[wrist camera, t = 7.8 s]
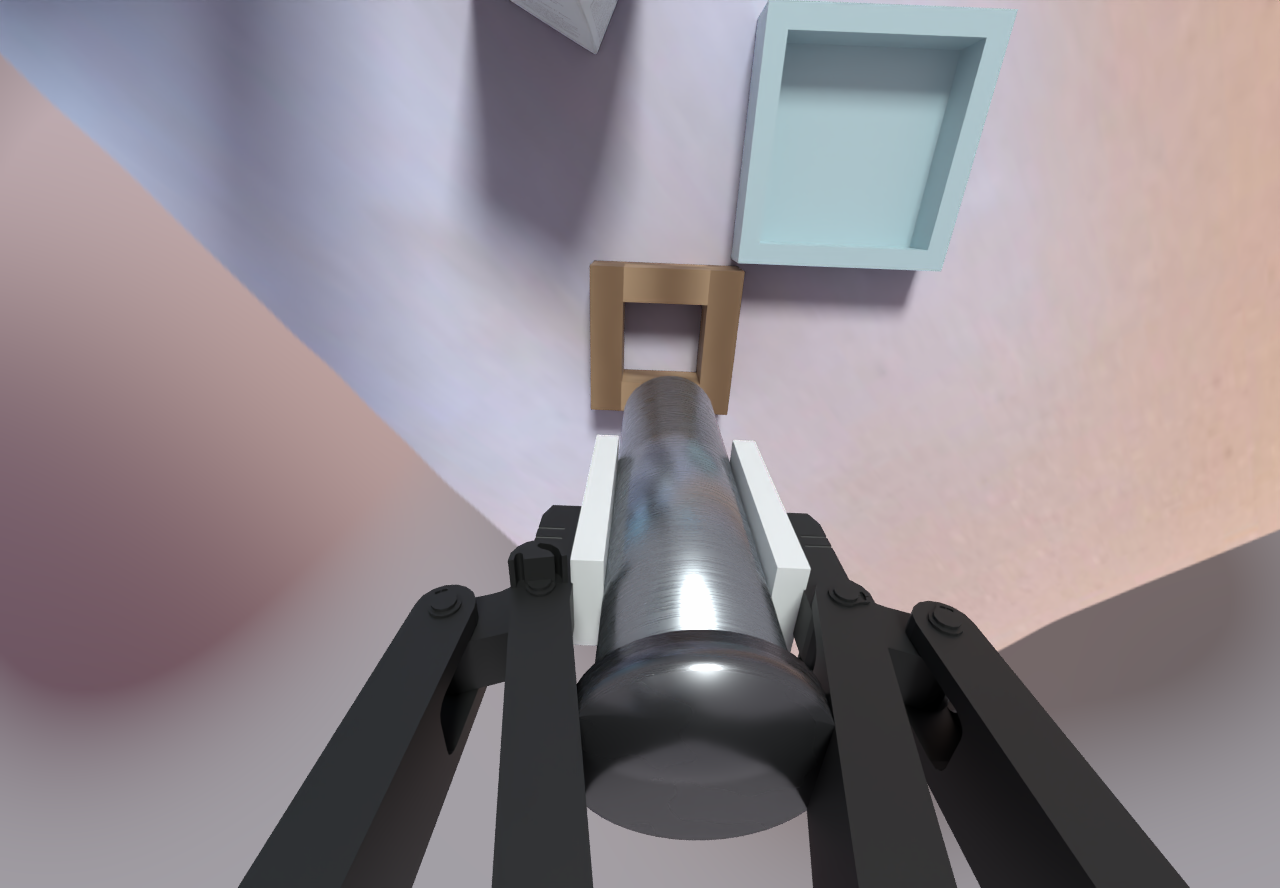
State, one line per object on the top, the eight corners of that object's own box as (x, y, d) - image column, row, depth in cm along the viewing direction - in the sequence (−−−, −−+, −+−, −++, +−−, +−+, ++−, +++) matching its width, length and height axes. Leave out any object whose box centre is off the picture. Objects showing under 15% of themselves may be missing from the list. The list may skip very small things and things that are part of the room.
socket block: (595, 395, 39) (591, 409, 36) (594, 260, 34) (589, 265, 31) (721, 400, 39) (727, 414, 36) (737, 266, 34) (744, 271, 31)
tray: (731, 258, 34) (738, 263, 31) (757, 18, 28) (769, -1, 26) (918, 265, 34) (941, 271, 31) (982, 27, 28) (1017, 9, 26)
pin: (613, 464, 23) (565, 835, 9) (614, 364, 21) (555, 664, 7) (716, 468, 23) (813, 845, 9) (728, 368, 21) (874, 677, 7)
